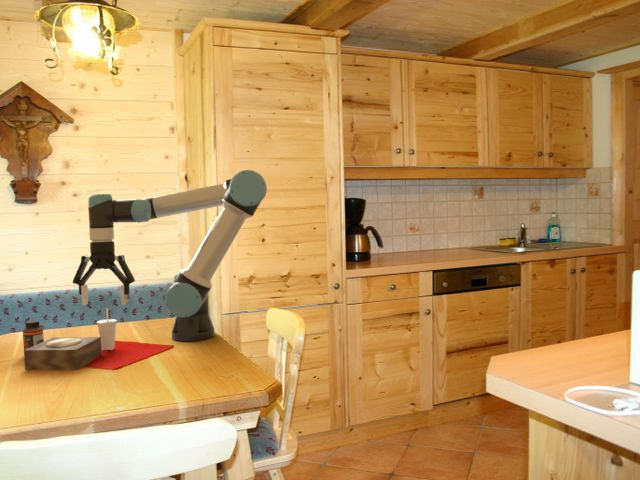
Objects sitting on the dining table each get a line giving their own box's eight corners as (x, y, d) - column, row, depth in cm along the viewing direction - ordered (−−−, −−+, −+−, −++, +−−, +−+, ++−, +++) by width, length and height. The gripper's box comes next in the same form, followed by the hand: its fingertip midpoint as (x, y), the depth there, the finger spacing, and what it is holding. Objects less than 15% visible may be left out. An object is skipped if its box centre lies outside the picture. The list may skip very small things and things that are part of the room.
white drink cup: (105, 353, 187) (102, 310, 186) (94, 350, 190) (91, 309, 190) (122, 348, 192) (120, 307, 191) (111, 346, 196) (109, 305, 195)
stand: (101, 355, 184) (100, 335, 184) (77, 369, 168) (75, 348, 168) (54, 355, 185) (52, 336, 185) (25, 370, 169) (23, 349, 169)
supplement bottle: (20, 356, 185) (17, 322, 184) (36, 352, 190) (34, 318, 190) (32, 358, 182) (29, 323, 182) (48, 353, 188) (46, 319, 187)
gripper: (143, 239, 191) (145, 302, 193) (71, 240, 193) (74, 302, 195) (134, 241, 184) (136, 306, 185) (59, 242, 186) (62, 306, 187)
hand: (104, 304), depth 190 cm, fingers open, 13 cm apart
